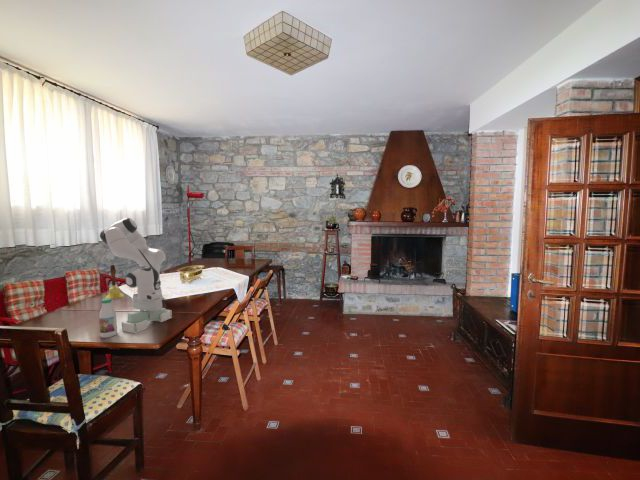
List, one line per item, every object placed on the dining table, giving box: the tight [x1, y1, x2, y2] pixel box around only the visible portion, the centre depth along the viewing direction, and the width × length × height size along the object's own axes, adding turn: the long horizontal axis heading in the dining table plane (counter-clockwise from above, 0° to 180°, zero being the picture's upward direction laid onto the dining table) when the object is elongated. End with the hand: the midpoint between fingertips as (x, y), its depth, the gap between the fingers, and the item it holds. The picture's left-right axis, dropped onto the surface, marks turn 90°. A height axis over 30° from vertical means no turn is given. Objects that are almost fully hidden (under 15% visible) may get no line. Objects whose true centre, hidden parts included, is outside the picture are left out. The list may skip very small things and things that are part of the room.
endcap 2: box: [151, 309, 173, 323], centre depth 198 cm, size 8×10×5 cm
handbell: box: [104, 264, 125, 300], centre depth 246 cm, size 12×12×25 cm
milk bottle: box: [98, 298, 118, 339], centre depth 172 cm, size 8×8×20 cm
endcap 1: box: [121, 319, 149, 334], centre depth 181 cm, size 8×10×5 cm
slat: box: [126, 307, 167, 324], centre depth 189 cm, size 21×4×6 cm, turn 149°
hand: (147, 317), depth 189 cm, fingers closed on slat, 4 cm apart
